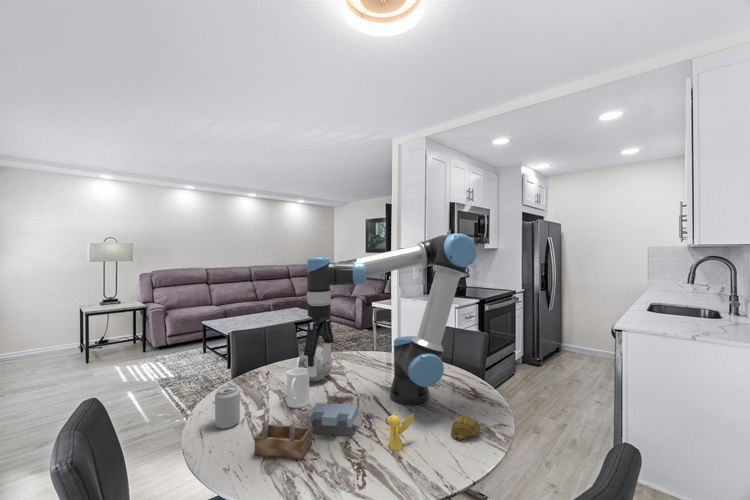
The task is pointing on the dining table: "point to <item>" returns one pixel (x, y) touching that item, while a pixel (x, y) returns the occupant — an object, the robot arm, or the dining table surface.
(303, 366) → the stone
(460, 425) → the seashell
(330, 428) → the gray rectangular block
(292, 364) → the dining table surface
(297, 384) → the mug
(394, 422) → the figurine
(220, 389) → the can
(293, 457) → the carcass
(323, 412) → the door
